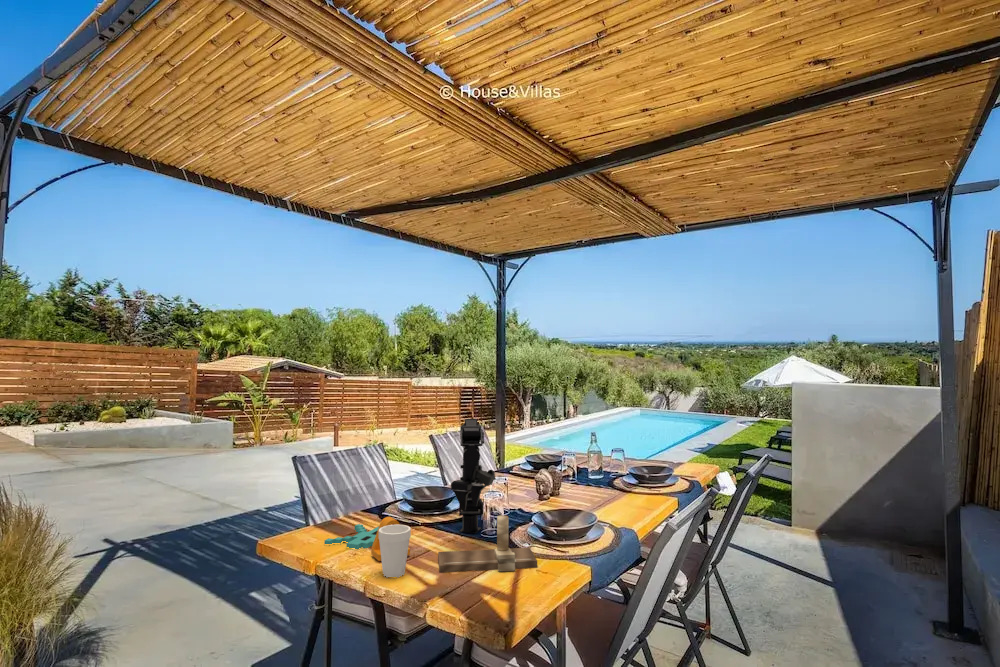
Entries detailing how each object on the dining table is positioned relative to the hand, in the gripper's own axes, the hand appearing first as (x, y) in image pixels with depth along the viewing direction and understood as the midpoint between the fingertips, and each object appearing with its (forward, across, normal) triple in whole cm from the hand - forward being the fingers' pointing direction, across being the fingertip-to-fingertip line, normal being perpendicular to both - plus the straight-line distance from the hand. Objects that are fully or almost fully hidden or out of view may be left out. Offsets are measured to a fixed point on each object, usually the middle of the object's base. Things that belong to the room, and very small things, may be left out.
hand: (469, 508), depth 184 cm
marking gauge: (+13, -11, -18) cm, 25 cm away
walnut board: (+14, -11, -12) cm, 21 cm away
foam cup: (+15, -30, +10) cm, 35 cm away
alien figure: (+14, -7, +37) cm, 40 cm away
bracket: (+14, -18, +19) cm, 30 cm away
